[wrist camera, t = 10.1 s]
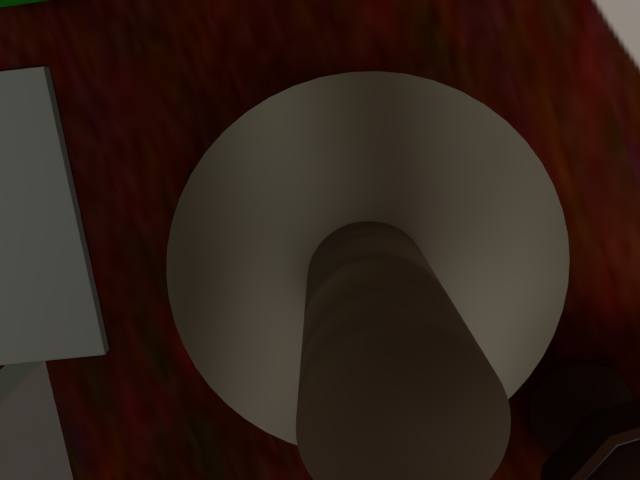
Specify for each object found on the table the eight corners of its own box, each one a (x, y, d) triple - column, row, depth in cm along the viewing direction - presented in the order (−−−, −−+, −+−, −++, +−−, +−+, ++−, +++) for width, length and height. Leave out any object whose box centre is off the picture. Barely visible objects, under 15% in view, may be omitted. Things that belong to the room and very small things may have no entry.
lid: (205, 449, 20) (115, 728, 12) (146, 94, 18) (-37, 99, 9) (554, 419, 20) (739, 681, 11) (553, 51, 17) (803, 11, 8)
